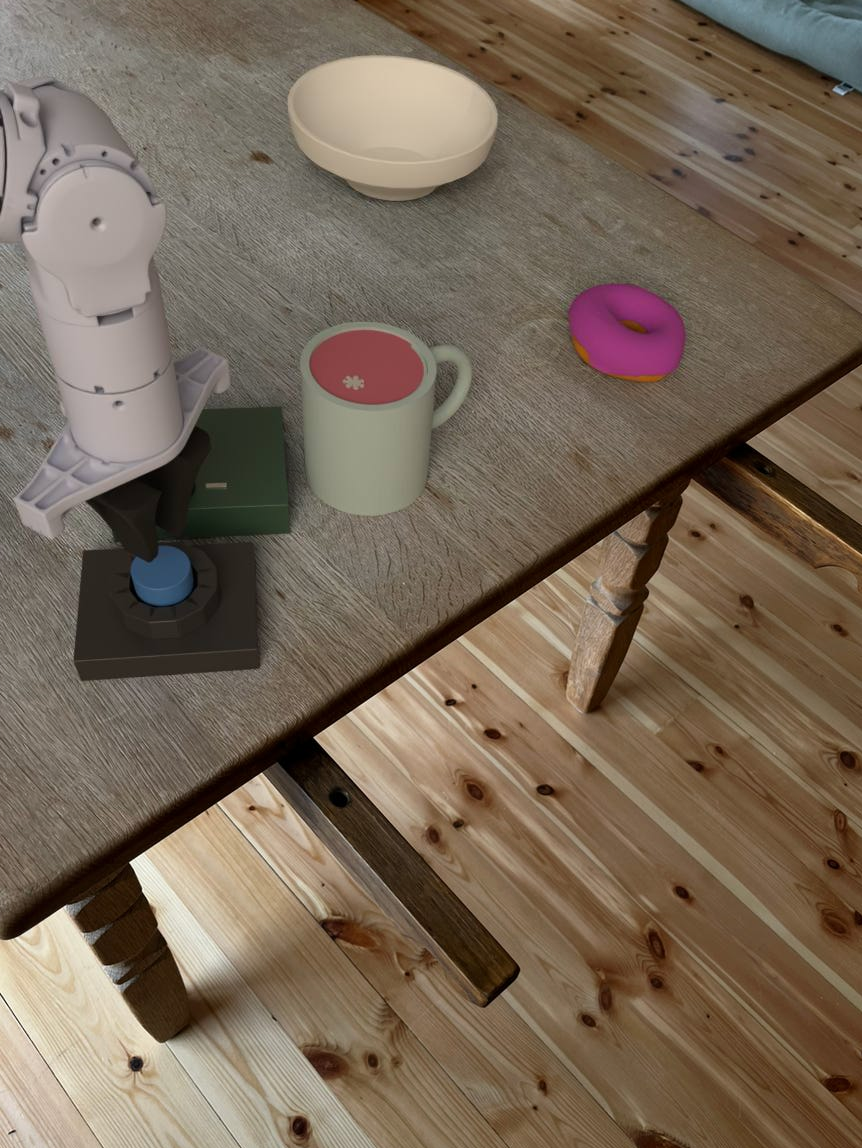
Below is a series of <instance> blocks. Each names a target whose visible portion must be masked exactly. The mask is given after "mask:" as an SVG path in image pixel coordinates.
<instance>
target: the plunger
mask: <svg viewBox="0 0 862 1148" xmlns="http://www.w3.org/2000/svg"><path fill="white" fill-rule="evenodd" d="M131 576H132V579H133V583H134V587H135V591H136V593H137V595H138V596H139V598H140V599H142V600H143V601H144V602H146V603H148V604H150V605H154V606H170V605H174V604H176V603H179V602H181V601H182V600H184V599H185V598H186V597H187V596H188V595H189V594H190V592H191V591H192V588H193V585H194V579H193V574H192V568H191V563H190V560H189V558H188V556H187V555H186V554H185V553H184V552H183V551H181V550H180V549H178V548H175V547H172V546H165V545H161V546H159V549H158V556H157V557H156V558H155V559H154V560H153V561H152V562H150V563H148V562H146V561H144V560H142V559H140V558H138V557H137V556H136V557H135V559H134V560H133V562H132V565H131Z"/></svg>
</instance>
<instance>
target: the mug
mask: <svg viewBox="0 0 862 1148" xmlns="http://www.w3.org/2000/svg"><path fill="white" fill-rule="evenodd" d="M444 362H451V363H453V364H454V365H455V367H456V369H457V370H456V371H457V375H456V379H455V383H454V386H453V388H452V389H451V392H450V393H449V395H448V397H447V398H446V399H445V400H444V402H442V404H441V405H439V406H438V407H437V408H436V409H435V410H434V407H435V406H434V404H435V394H436V383H437V382H436V381H437V365H438V364H440V363H444ZM299 369H300V371H299V372H300V391H301V393H300V394H301V414H302V434H303V450H304V451H303V454H304V473H305V479H306V482H307V484H308V486H309V488H310V489H311V491H312V492H313V494H314V495H315V496H316V497H317V498H318V499H319V500H320V501H322V502H323V503H324V504H326V505H328V506H329V507H330V508H333V509H335V510H337V511H339V512H343V513H346V514H350V515H354V516H360V517H361V516H362V517H377V516H385V515H389V514H393V513H396V512H399V511H401V510H404V509H405V508H407V507H408V506H410V505H411V504H413V503H414V502H415V501H416V500H418V498H419V497H420V496H421V495H422V493H423V492H424V490H425V488H426V486H427V483H428V477H429V466H430V455H431V444H432V443H431V442H432V431H433V430H434V429H436V428H438V427H440V426H442V425H443V424H445V423H446V422H447V421H448V420H449V419H450V418H452V417H453V416H454V415H455V413H456V412H457V411H458V410H459V409H460V408H461V406H462V405H463V403H464V402H465V400H466V398H467V396H468V393H469V392H470V389H471V385H472V381H473V365H472V362H471V359H470V357H469V355H468V354H467V352H465V350H463V348H461V347H459V346H457V345H454V344H440V345H439V344H438V345H436V346H432V347H430V348H429V347H428V346H427V345H426V343H424V342H423V341H422V340H421V339H420V338H419V337H417V336H416V335H414V334H413V333H411V332H409V331H408V330H405V329H403V328H401V327H397V326H394V325H391V324H387V323H382V322H376V321H351V322H345V323H340V324H337V325H333V326H330V327H327V328H326V329H323V330H322V331H320V332H319V333H317V334H315V335H314V336H313V337H312V338H311V339H310V340H309V341H307V343H306V345H305V346H304V347H303V349H302V351H301V354H300V359H299Z"/></svg>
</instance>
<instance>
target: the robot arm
mask: <svg viewBox="0 0 862 1148" xmlns="http://www.w3.org/2000/svg"><path fill="white" fill-rule="evenodd" d="M167 219H168V209H167V205H166V204H165V203H164V202H160V199H159V198H158V194H157V189H156V187H155V184H154V183H153V180H152V178H151V177H150V175H149V174H148V172H147V171H146V169H145V168H144V166H143V164H142V163H141V162H140V160H139V158H137V156H136V155H135V153H134V152H133V151H132V149H131V147H130V146H129V144H128V143H127V141H125V139H124V137H123V136H122V134H121V133H120V131H119V130H118V128H117V127H116V126H115V125H114V123H113V121H112V120H111V118H110V117H109V115H108V114H107V113H106V112H105V111H104V110H103V109H102V108H101V107H100V106H99V105H98V104H97V102H95V101H93V99H92V98H90V97H89V96H88V95H86V94H85V93H83V92H81V91H80V90H78V89H76V88H74V87H71V86H69V85H66V84H65V83H62V82H61V81H60V80H58V79H57V78H55V77H53V76H37V77H31V78H26V79H23V80H19V81H17V82H12V81H7V82H6V83H5V85H4V89H0V243H1V244H20V245H21V247H22V250H23V254H24V257H25V262H26V264H27V268H28V285H29V286H28V287H29V291H30V293H31V297H32V298H31V299H32V301H33V305H34V308H35V311H36V316H37V318H38V322H39V326H40V328H41V333H42V336H43V339H44V343H45V346H46V349H47V352H48V353H47V354H48V356H49V360H50V363H51V367H52V370H53V374H54V378H55V381H56V385H57V387H58V391H59V394H60V398H61V400H60V401H59V403H58V404H59V410H60V413H61V415H62V416H63V417H64V418H66V419H67V420H66V422H65V424H64V426H63V427H62V429H61V431H60V432H59V434H58V436H57V437H56V439H55V441H54V442H53V444H52V446H51V447H50V448H49V450H48V452H47V454H46V456H45V457H44V459H43V460H42V462H41V464H40V465H39V468H38V469H37V471H36V472H35V474H34V475H33V477H32V478H31V479H30V481H29V482H28V483H27V484H26V485H25V487H24V488H22V489H21V490H20V491H19V492H18V493H17V494H16V495H14V497H13V502H14V505H15V508H16V510H17V512H18V516H19V518H20V521H21V523H22V525H24V526H25V527H27V528H30V529H31V530H32V531H34V532H36V533H38V534H39V535H40V536H44V537H46V538H47V539H50V540H54V539H56V538H57V537H58V536H59V535H60V534H62V532H64V531H65V530H66V525H65V522H64V517H65V516H67V514H69V513H70V512H71V511H73V509H74V508H75V507H77V506H78V505H80V504H82V503H84V502H85V503H86V504H87V505H88V506H90V507H91V508H92V510H94V511H95V512H96V513H97V514H98V516H99V517H100V518H101V519H102V520H103V521H104V522H105V523H106V525H107V526H108V527H109V529H110V530H111V532H112V531H113V533H114V534H115V536H116V537H117V539H118V540H119V542H118V543H119V544H120V545H121V547H122V548H123V549H124V550H126V551H127V552H129V553H131V554H133V555H135V556H137V557H138V558H140V559H142V560H144V561H146V562H148V563H150V562H152V561H153V560H154V559H155V558H156V557H157V556H158V549H159V546H158V543H159V540H158V539H157V533H156V527H155V525H156V526H158V527H160V528H162V529H164V530H166V531H168V532H170V533H171V534H173V535H175V536H177V537H178V536H179V535H180V534H181V533H182V532H183V531H184V529H185V525H186V519H187V513H188V507H189V502H190V497H191V493H192V489H193V485H194V482H195V479H196V477H197V474H198V472H199V470H200V467H201V465H202V464H203V462H204V460H205V458H206V457H207V455H208V454H209V452H210V451H211V442H210V437H209V434H208V433H207V432H206V431H204V430H203V429H201V428H199V427H197V426H195V424H196V422H197V420H198V418H199V416H200V414H201V412H202V410H203V409H205V408H204V407H205V406H206V403H207V401H208V399H209V398H210V396H211V393H212V392H213V393H215V394H222V393H224V392H225V391H226V390H228V388H229V387H231V386H232V384H231V376H230V375H231V374H230V367H229V366H230V365H229V359H228V358H226V357H225V356H223V355H220V354H218V353H215V352H213V351H212V350H210V349H207V348H205V347H204V346H198V347H197V348H195V349H194V350H193V351H191V352H190V353H188V354H187V355H185V356H183V357H181V358H178V359H177V360H174V356H173V351H172V344H171V338H170V333H169V327H168V323H167V322H168V321H167V315H166V310H165V303H164V297H163V291H162V286H161V280H160V275H159V270H158V268H157V266H156V265H155V263H156V262H155V258H154V255H155V253H156V251H157V250H158V248H159V247H160V245H161V243H162V240H163V237H164V234H165V232H166V227H167Z"/></svg>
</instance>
